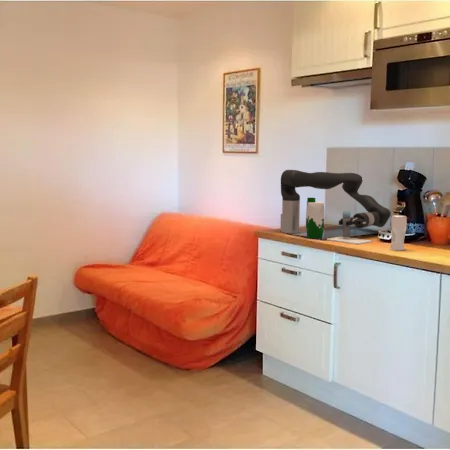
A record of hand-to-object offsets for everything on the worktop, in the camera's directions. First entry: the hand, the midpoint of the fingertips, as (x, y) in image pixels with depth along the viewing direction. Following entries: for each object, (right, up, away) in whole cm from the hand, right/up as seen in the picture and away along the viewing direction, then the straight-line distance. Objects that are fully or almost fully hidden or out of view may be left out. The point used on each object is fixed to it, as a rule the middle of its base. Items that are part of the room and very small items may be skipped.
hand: (343, 223), depth 280 cm
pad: (+3, -9, 0) cm, 9 cm away
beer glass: (+20, -12, -23) cm, 32 cm away
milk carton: (-12, -7, +11) cm, 18 cm away
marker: (+2, -7, +3) cm, 8 cm away
